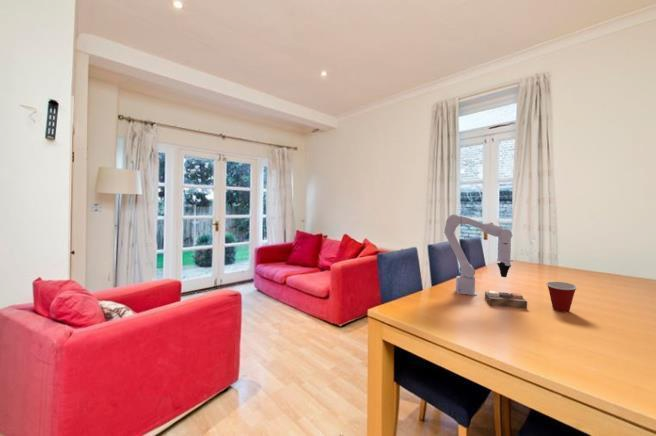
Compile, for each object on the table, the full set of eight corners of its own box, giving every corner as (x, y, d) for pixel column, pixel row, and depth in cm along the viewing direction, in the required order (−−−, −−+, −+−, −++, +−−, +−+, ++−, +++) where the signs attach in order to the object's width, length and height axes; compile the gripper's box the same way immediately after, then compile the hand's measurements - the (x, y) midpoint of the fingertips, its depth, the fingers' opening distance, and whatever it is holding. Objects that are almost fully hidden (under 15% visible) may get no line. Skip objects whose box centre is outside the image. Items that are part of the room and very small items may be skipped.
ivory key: (490, 299, 134) (490, 292, 134) (488, 296, 138) (488, 290, 138) (499, 300, 133) (499, 293, 133) (497, 297, 137) (497, 291, 137)
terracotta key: (512, 301, 131) (512, 295, 131) (510, 299, 135) (510, 292, 135) (522, 302, 130) (522, 296, 130) (519, 300, 134) (519, 293, 134)
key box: (490, 305, 131) (490, 298, 131) (485, 298, 142) (485, 291, 142) (527, 309, 127) (527, 301, 126) (518, 301, 137) (519, 294, 137)
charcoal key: (501, 301, 133) (501, 294, 133) (499, 298, 137) (499, 292, 137) (510, 302, 132) (511, 295, 131) (508, 299, 135) (508, 293, 135)
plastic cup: (541, 308, 127) (541, 283, 126) (551, 304, 132) (551, 280, 132) (571, 316, 117) (571, 288, 117) (580, 311, 123) (581, 285, 123)
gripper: (517, 253, 136) (517, 280, 137) (508, 249, 150) (508, 274, 150) (501, 253, 139) (500, 279, 139) (494, 249, 152) (493, 273, 153)
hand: (503, 276), depth 145 cm, fingers closed
